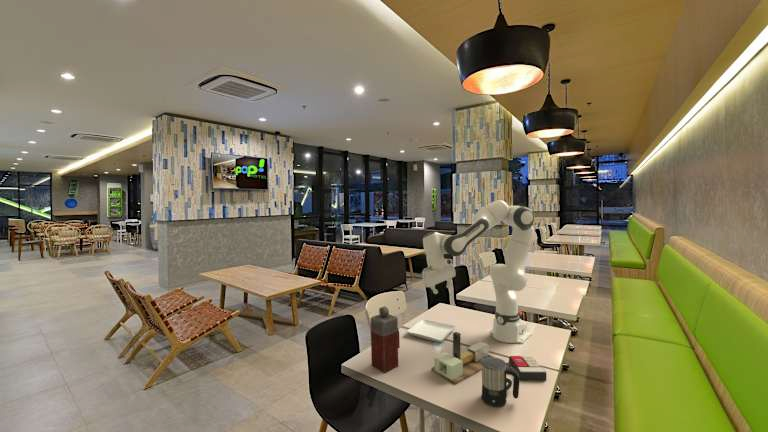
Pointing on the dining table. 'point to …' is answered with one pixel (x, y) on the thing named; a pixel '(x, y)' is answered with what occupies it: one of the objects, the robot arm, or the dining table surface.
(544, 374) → the calculator
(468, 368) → the walnut board
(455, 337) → the dark tall piece
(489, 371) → the milk frother
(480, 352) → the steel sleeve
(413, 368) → the dining table surface
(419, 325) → the salad plate
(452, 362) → the socket block
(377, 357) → the red lidded canister
